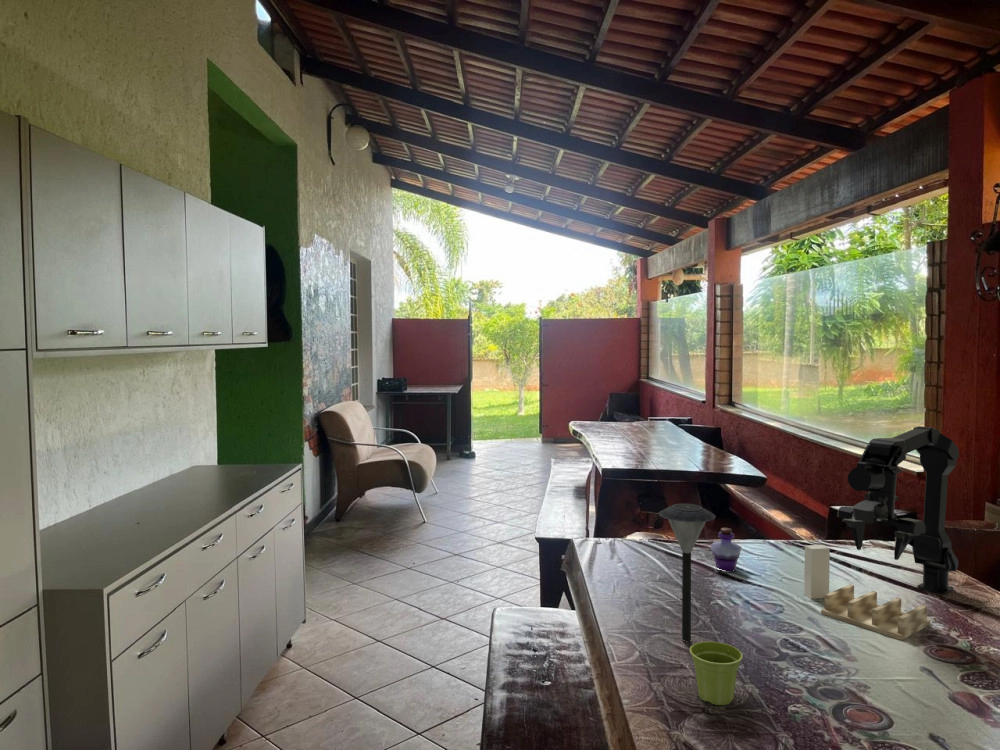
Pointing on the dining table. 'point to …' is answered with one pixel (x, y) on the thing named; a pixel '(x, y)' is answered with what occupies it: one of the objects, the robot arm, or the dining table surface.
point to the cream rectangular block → (816, 571)
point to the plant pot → (716, 670)
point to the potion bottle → (726, 551)
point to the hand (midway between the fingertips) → (877, 554)
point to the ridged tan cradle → (874, 613)
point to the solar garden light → (686, 548)
